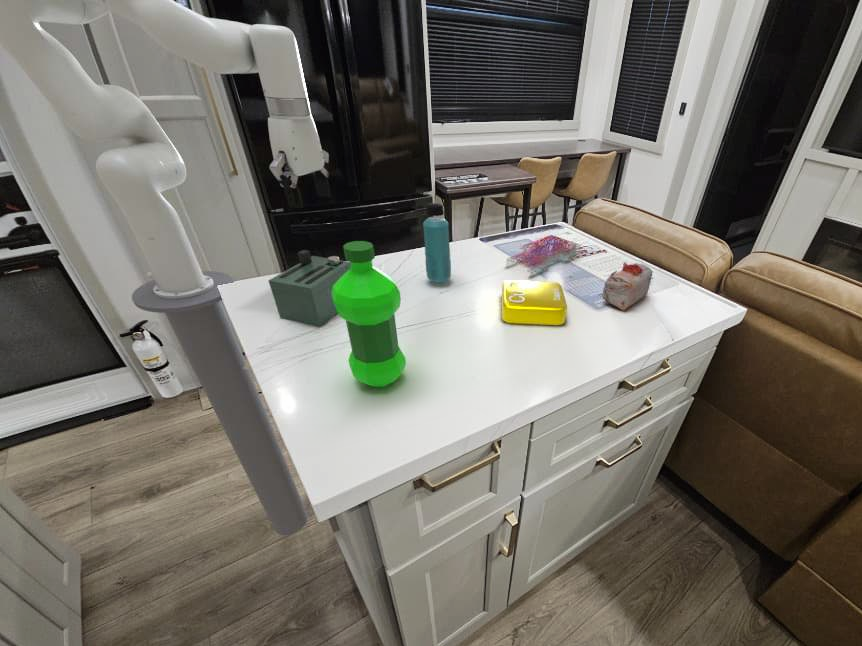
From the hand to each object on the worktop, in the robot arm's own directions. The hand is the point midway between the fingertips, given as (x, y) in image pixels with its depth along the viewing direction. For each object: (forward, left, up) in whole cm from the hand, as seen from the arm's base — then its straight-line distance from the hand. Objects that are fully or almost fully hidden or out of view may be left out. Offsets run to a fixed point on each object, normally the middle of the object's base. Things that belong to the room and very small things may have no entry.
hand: (310, 201), depth 91 cm
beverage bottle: (+23, +14, -21) cm, 35 cm away
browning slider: (0, -6, -12) cm, 13 cm away
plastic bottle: (+29, -29, -21) cm, 46 cm away
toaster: (+3, -9, -21) cm, 23 cm away
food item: (+72, +22, -21) cm, 78 cm away
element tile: (+50, +8, -21) cm, 55 cm away
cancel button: (+5, -3, -13) cm, 14 cm away
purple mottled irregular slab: (+46, +42, -21) cm, 66 cm away
